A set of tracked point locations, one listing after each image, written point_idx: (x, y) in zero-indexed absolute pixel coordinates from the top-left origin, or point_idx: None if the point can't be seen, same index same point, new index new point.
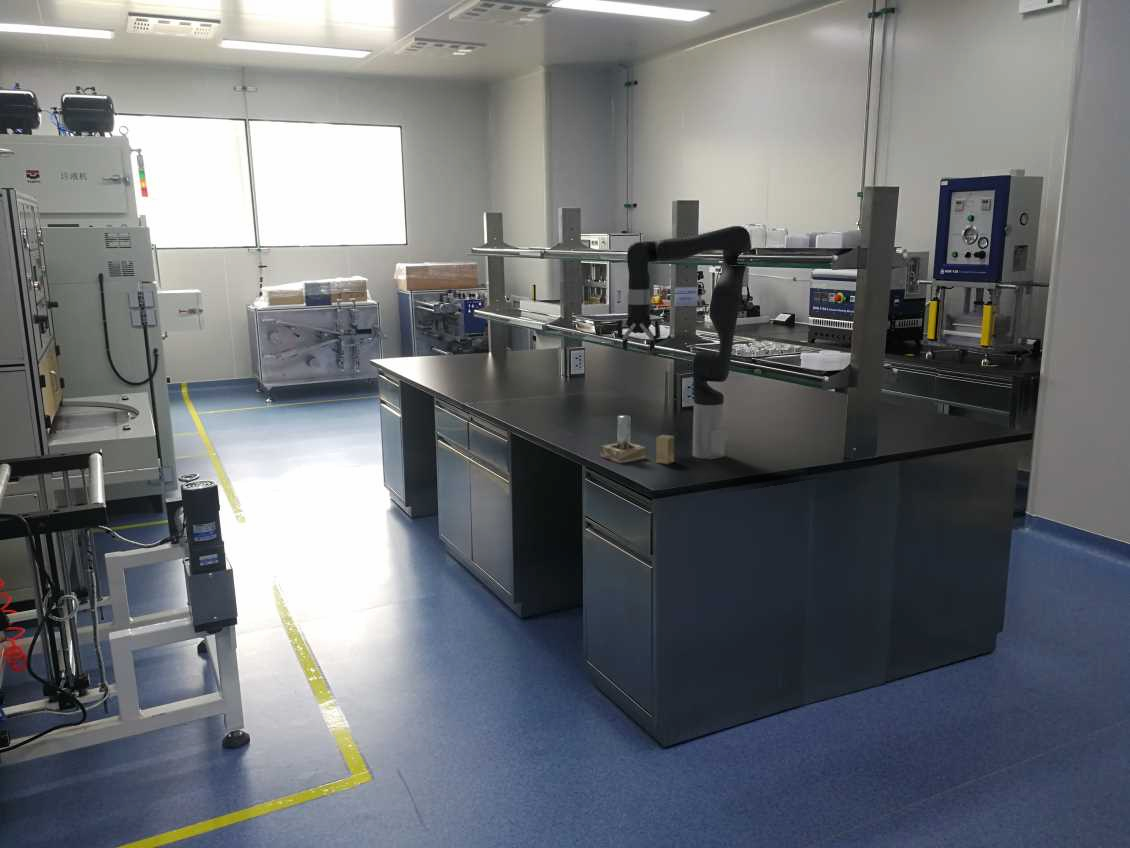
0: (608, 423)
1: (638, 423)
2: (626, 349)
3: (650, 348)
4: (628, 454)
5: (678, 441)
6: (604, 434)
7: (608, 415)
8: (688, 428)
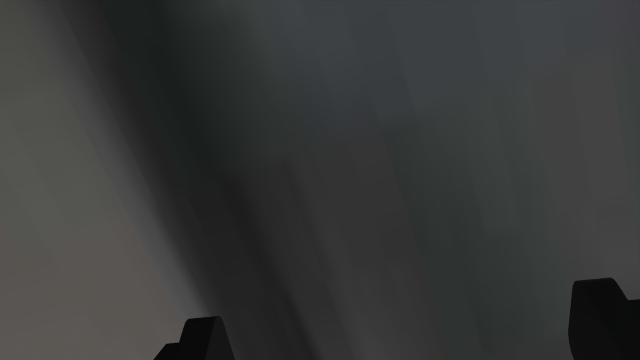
0: (556, 225)
1: (427, 260)
2: (586, 289)
3: (196, 344)
4: None
5: (147, 9)
6: (536, 21)
7: None
8: (206, 244)
